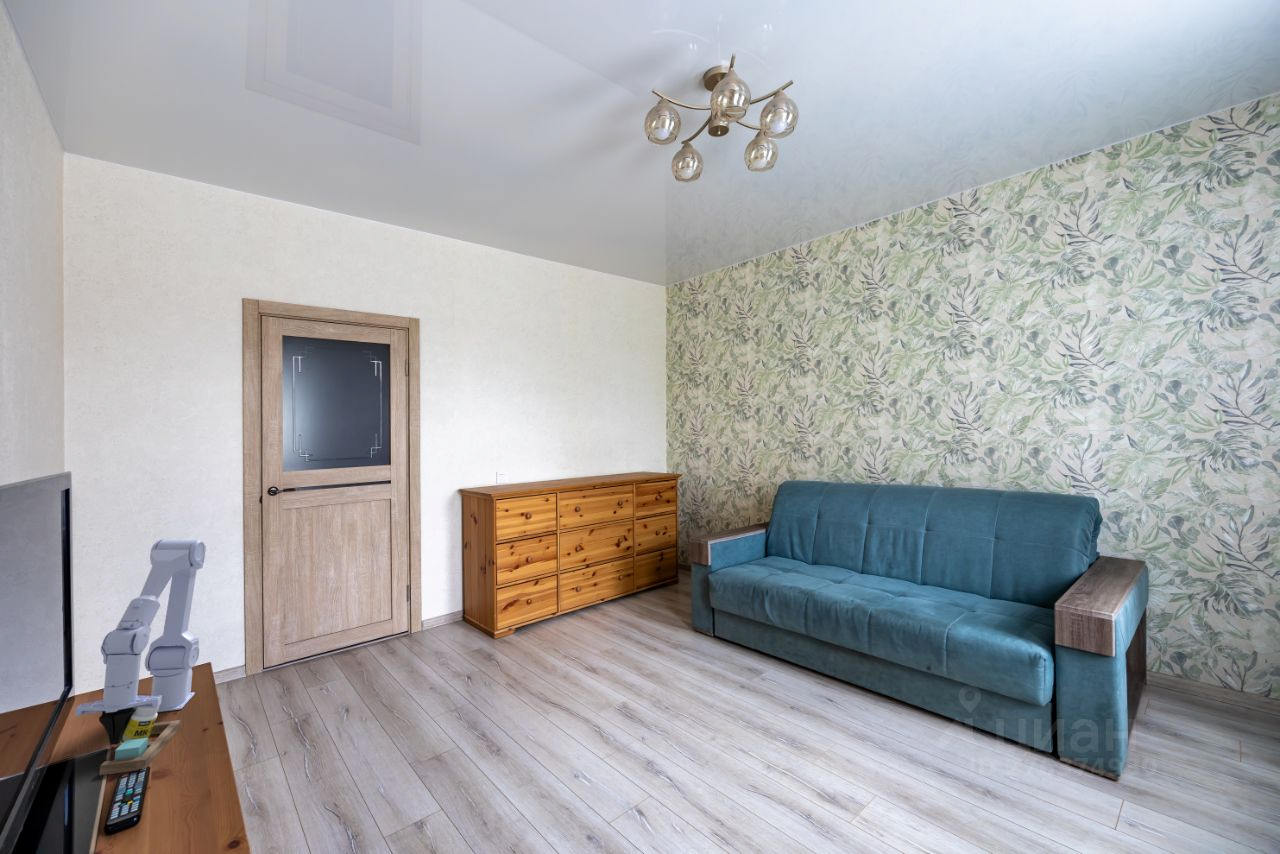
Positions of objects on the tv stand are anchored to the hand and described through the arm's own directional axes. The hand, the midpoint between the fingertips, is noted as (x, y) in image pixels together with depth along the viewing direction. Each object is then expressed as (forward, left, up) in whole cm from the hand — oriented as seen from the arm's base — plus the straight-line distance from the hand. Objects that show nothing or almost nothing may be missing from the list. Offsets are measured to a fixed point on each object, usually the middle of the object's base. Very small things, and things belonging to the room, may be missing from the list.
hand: (116, 742), depth 121 cm
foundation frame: (+3, +6, -1) cm, 7 cm away
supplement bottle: (0, +3, -1) cm, 3 cm away
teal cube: (+8, +6, -1) cm, 10 cm away
